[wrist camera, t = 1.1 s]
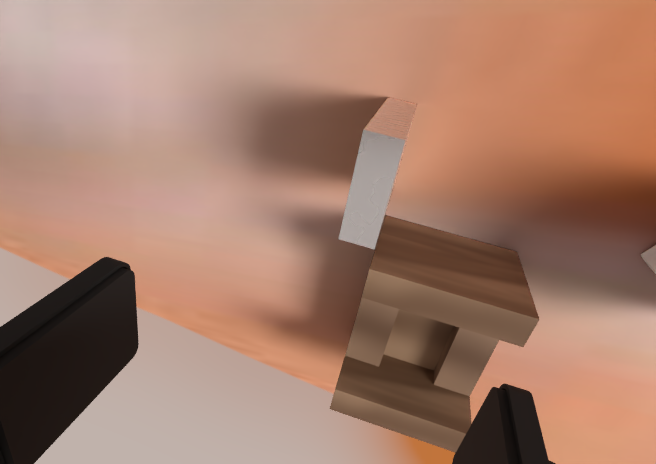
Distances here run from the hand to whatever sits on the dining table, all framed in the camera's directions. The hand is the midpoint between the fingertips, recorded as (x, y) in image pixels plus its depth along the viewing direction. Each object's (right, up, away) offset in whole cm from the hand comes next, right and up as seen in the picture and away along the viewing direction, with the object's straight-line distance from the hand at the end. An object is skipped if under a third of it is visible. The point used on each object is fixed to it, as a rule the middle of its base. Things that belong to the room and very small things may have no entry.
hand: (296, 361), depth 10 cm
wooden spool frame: (+9, -2, +24) cm, 25 cm away
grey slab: (+5, +10, +19) cm, 22 cm away
